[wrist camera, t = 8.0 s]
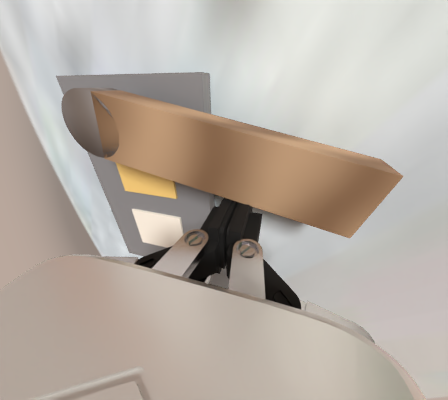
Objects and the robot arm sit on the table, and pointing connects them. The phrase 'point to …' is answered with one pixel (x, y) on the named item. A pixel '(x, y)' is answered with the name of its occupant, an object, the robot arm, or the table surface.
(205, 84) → the label board
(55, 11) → the table surface
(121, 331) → the robot arm
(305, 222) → the swing bar
